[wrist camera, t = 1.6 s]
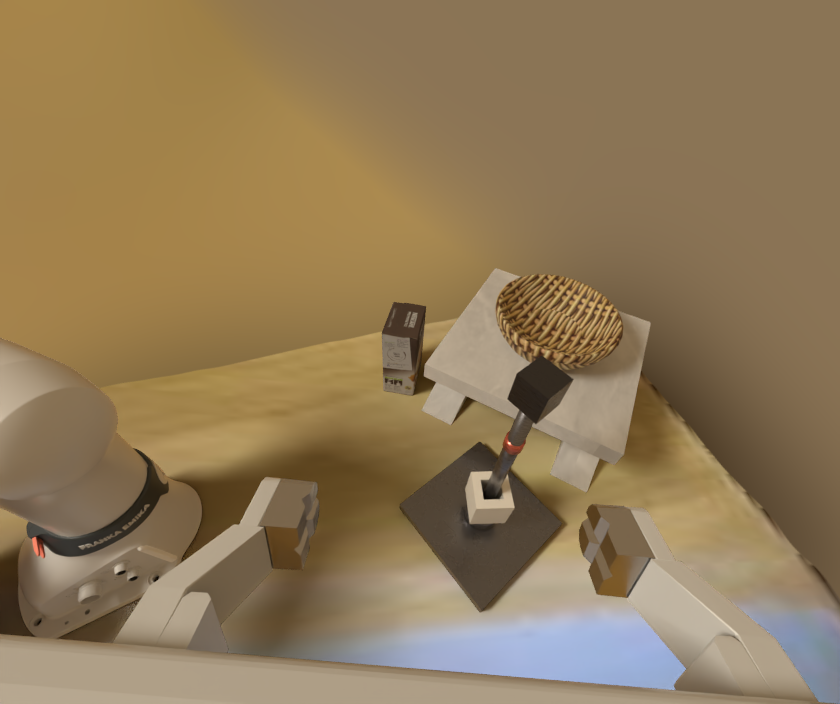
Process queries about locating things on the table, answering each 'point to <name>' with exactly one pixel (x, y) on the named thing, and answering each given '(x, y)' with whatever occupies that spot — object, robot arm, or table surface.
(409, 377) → the coffee box
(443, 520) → the rod stand
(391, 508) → the table surface
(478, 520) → the sleeve
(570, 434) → the white table with basket
